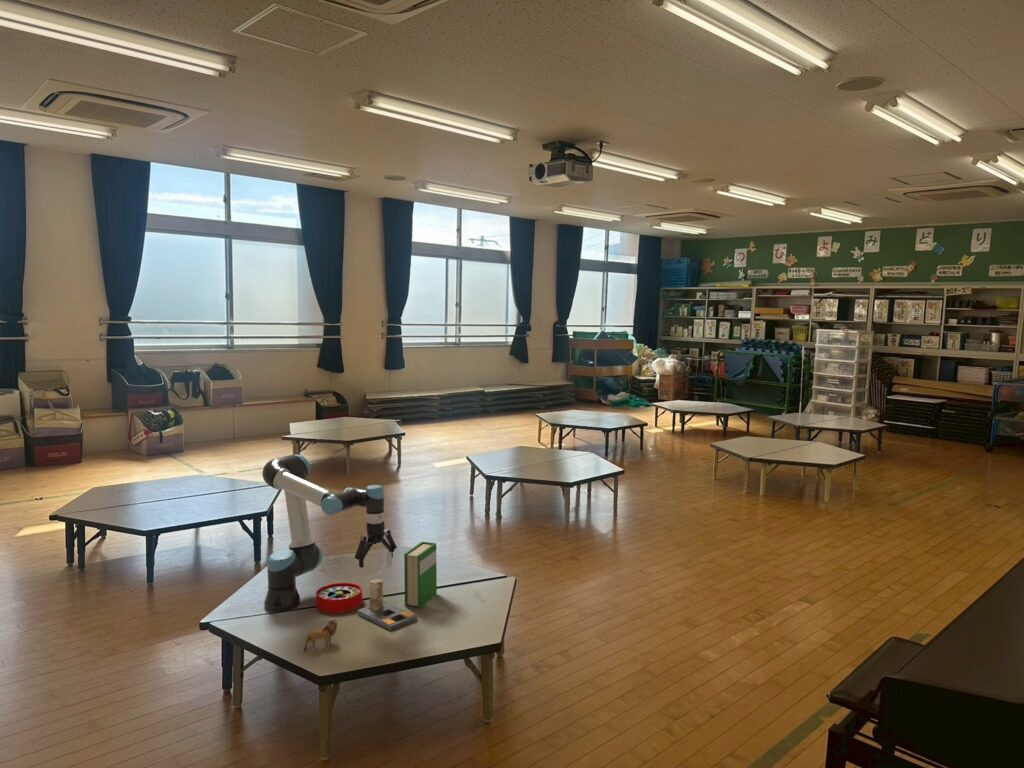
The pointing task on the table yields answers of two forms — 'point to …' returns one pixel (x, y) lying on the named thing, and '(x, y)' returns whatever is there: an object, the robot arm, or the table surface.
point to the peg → (376, 595)
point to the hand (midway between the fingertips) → (376, 570)
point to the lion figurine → (322, 634)
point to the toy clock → (339, 597)
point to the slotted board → (389, 620)
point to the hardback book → (420, 574)
